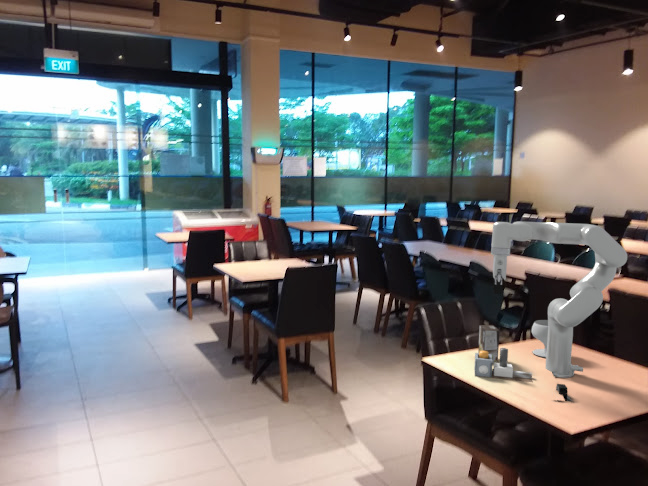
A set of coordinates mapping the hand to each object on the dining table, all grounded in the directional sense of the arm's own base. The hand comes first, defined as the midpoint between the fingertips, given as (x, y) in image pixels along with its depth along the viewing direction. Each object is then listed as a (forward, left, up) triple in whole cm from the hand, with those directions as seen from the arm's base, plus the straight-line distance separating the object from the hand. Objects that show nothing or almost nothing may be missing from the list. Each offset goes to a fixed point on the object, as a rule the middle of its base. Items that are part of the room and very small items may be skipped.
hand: (497, 291), depth 218 cm
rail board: (-3, +11, -34) cm, 35 cm away
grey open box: (+5, +11, -32) cm, 34 cm away
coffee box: (+2, -7, -34) cm, 35 cm away
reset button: (+5, +11, -26) cm, 29 cm away
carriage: (-3, +11, -32) cm, 34 cm away
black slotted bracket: (-23, +23, -35) cm, 47 cm away
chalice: (-25, -27, -34) cm, 50 cm away
